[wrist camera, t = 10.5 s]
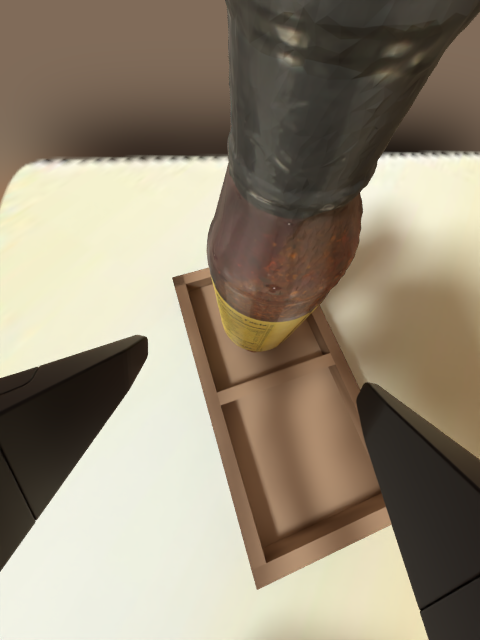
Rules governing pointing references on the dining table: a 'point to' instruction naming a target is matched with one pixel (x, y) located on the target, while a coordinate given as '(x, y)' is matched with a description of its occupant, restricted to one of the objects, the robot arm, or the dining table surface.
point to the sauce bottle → (310, 144)
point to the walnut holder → (284, 437)
